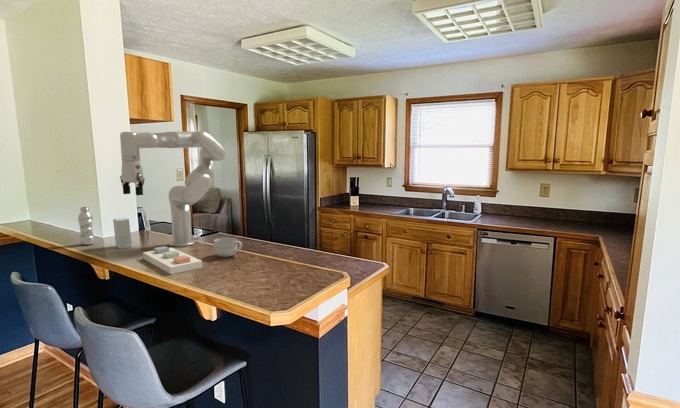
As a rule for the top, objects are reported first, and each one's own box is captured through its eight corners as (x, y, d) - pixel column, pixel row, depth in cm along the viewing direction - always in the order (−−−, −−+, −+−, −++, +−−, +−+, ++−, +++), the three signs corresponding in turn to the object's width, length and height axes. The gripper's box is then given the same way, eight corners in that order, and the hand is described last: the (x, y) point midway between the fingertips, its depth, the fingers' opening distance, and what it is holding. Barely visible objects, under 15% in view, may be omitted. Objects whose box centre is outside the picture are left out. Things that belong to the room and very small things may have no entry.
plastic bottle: (87, 246, 188) (84, 208, 186) (76, 245, 190) (73, 208, 187) (98, 243, 195) (95, 206, 192) (87, 242, 196) (84, 206, 193)
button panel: (172, 253, 176) (171, 247, 176) (202, 267, 155) (202, 260, 154) (143, 258, 167) (142, 252, 167) (171, 274, 145) (170, 267, 145)
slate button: (165, 250, 171) (165, 246, 171) (169, 252, 168) (169, 248, 168) (154, 252, 168) (153, 248, 168) (158, 254, 164) (157, 250, 164)
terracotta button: (185, 259, 156) (184, 255, 156) (190, 262, 153) (190, 257, 153) (173, 262, 153) (173, 257, 153) (178, 264, 149) (178, 259, 149)
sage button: (174, 254, 164) (174, 250, 164) (179, 256, 161) (179, 252, 160) (163, 256, 160) (163, 252, 160) (167, 259, 157) (167, 254, 157)
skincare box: (132, 247, 188) (130, 219, 186) (118, 249, 183) (116, 220, 182) (127, 244, 194) (125, 217, 192) (114, 246, 189) (112, 218, 188)
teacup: (209, 256, 172) (208, 240, 171) (226, 251, 181) (225, 235, 180) (231, 260, 165) (230, 243, 164) (247, 255, 175) (247, 239, 174)
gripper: (150, 158, 169) (152, 194, 172) (127, 158, 177) (129, 192, 180) (134, 158, 163) (136, 196, 165) (111, 158, 171) (114, 194, 173)
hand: (133, 194), depth 172 cm, fingers open, 9 cm apart
